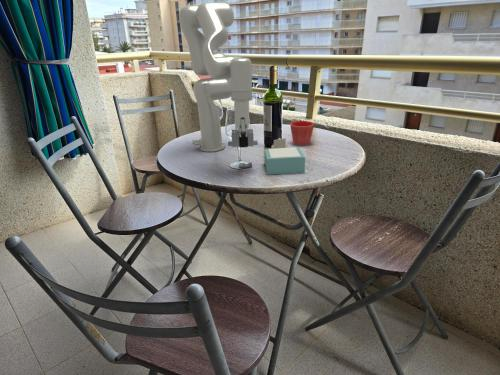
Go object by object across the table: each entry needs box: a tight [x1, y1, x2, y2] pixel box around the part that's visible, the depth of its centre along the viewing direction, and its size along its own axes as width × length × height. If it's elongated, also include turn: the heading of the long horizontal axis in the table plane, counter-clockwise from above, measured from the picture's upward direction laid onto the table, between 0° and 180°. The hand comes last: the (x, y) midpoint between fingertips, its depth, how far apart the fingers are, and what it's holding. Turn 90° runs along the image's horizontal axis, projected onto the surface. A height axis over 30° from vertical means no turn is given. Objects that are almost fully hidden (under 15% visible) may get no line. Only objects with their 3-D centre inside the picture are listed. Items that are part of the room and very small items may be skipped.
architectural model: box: [270, 137, 289, 149], centre depth 138 cm, size 3×7×7 cm, turn 109°
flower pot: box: [289, 120, 315, 146], centre depth 150 cm, size 11×11×10 cm
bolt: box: [238, 161, 253, 169], centre depth 126 cm, size 5×2×2 cm
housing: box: [227, 128, 259, 148], centre depth 118 cm, size 11×6×6 cm, turn 92°
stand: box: [263, 147, 306, 175], centre depth 122 cm, size 14×12×6 cm
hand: (243, 143), depth 120 cm, fingers closed on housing, 5 cm apart
